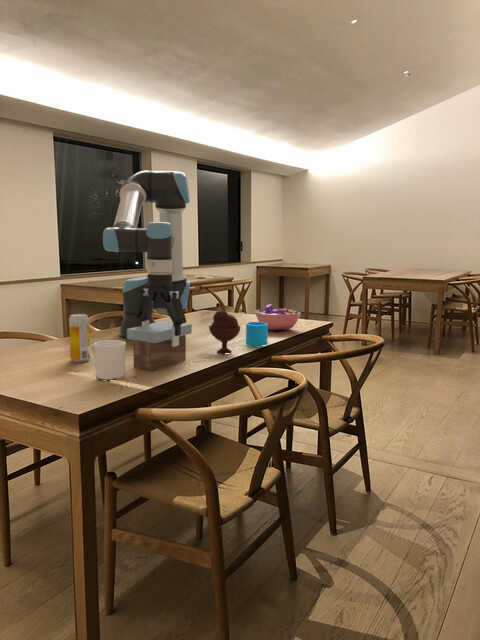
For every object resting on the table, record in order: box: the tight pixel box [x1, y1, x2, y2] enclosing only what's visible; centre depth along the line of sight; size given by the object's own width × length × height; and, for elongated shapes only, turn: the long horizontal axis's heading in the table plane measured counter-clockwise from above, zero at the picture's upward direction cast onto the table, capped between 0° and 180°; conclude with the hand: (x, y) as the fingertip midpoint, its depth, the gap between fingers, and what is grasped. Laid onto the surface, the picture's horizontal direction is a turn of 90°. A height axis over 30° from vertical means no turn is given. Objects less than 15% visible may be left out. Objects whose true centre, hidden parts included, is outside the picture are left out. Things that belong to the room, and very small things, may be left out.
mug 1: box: [88, 339, 127, 382], centre depth 155 cm, size 11×9×10 cm
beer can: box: [68, 313, 91, 363], centre depth 174 cm, size 6×6×15 cm
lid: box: [126, 320, 193, 343], centre depth 167 cm, size 11×18×4 cm, turn 149°
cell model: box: [254, 303, 302, 331], centre depth 232 cm, size 17×20×11 cm
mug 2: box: [245, 321, 269, 347], centre depth 204 cm, size 12×8×8 cm
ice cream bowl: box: [208, 310, 241, 355], centre depth 188 cm, size 11×11×15 cm
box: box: [132, 335, 187, 372], centre depth 168 cm, size 7×17×10 cm, turn 149°
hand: (160, 343), depth 168 cm, fingers closed on lid, 11 cm apart
